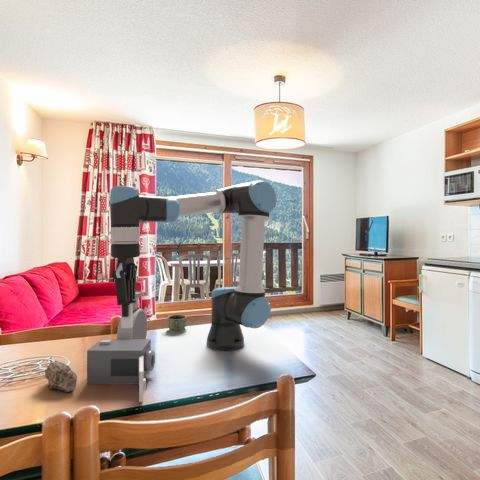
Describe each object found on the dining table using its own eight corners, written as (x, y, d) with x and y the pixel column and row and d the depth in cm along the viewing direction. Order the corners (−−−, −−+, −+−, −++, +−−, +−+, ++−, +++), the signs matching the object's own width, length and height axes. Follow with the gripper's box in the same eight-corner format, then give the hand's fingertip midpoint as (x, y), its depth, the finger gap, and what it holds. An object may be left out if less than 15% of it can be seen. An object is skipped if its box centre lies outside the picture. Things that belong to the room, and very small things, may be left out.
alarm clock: (127, 348, 120) (128, 301, 119) (153, 349, 119) (154, 302, 119) (108, 366, 103) (108, 312, 103) (138, 367, 103) (139, 312, 103)
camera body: (157, 369, 102) (157, 336, 101) (148, 384, 92) (148, 348, 91) (101, 369, 101) (101, 336, 101) (86, 384, 91) (86, 348, 91)
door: (138, 383, 91) (138, 356, 91) (145, 382, 92) (145, 355, 91) (138, 402, 81) (138, 371, 81) (145, 401, 81) (145, 371, 81)
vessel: (168, 326, 149) (168, 313, 149) (186, 326, 150) (187, 313, 150) (166, 334, 137) (166, 320, 137) (186, 333, 138) (186, 319, 138)
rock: (54, 358, 95) (33, 367, 85) (91, 358, 95) (74, 367, 86) (52, 382, 94) (30, 394, 84) (89, 382, 94) (72, 394, 85)
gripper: (120, 242, 92) (122, 320, 93) (101, 244, 79) (103, 335, 80) (145, 241, 92) (147, 320, 93) (131, 243, 79) (133, 334, 80)
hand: (127, 327), depth 86 cm, fingers closed
